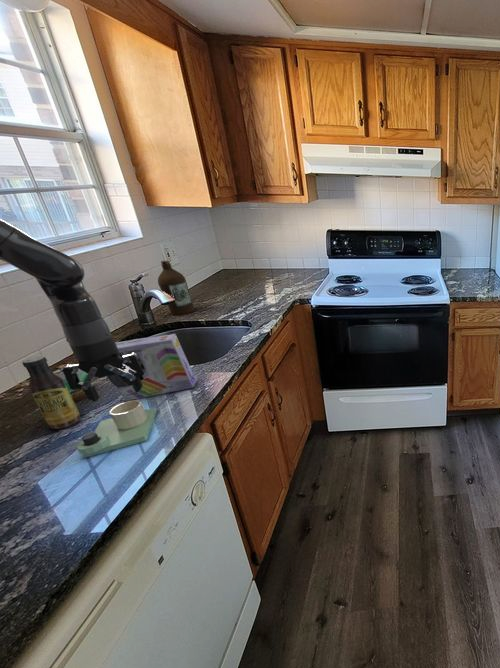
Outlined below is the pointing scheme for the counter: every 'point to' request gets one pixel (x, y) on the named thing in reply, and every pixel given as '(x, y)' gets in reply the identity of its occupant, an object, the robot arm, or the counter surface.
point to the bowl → (128, 414)
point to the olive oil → (175, 289)
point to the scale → (117, 435)
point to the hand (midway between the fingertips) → (117, 395)
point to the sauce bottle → (51, 394)
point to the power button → (90, 439)
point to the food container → (74, 394)
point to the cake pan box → (155, 367)
